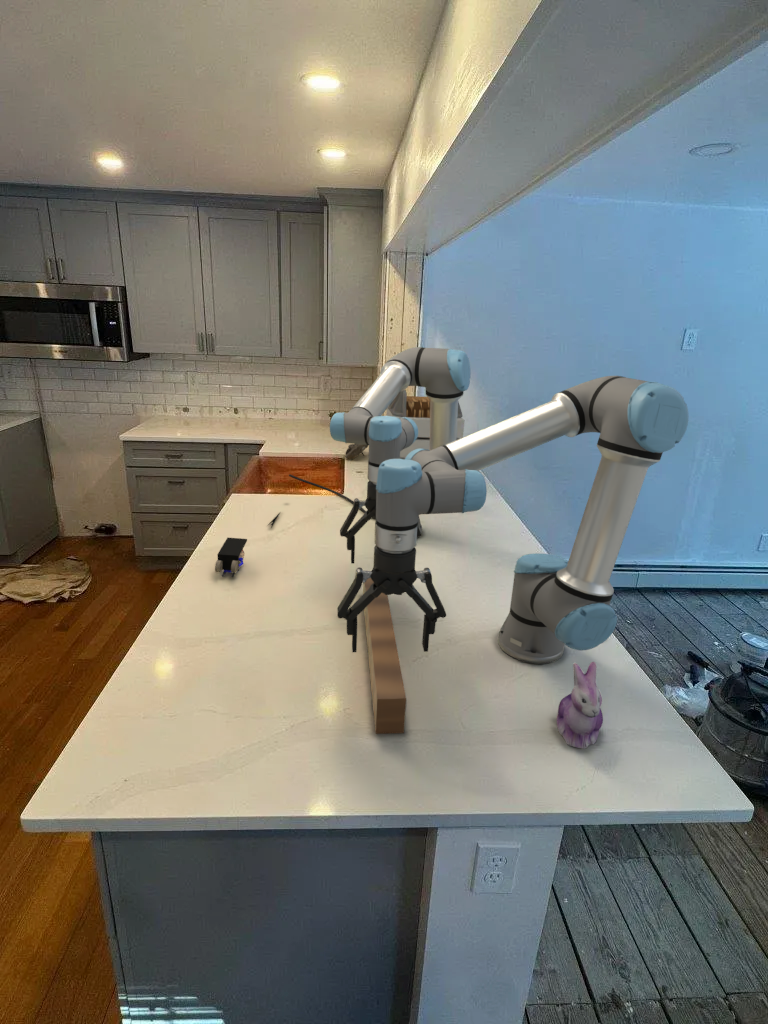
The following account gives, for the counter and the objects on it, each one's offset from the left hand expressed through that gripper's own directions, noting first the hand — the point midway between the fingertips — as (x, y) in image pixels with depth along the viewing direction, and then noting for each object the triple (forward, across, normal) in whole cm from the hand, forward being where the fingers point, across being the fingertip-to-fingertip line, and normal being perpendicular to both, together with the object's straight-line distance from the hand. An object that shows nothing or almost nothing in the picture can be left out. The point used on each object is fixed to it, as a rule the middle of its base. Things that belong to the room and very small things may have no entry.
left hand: (379, 561), depth 144 cm
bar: (+14, -1, -19) cm, 24 cm away
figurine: (+14, +35, -47) cm, 60 cm away
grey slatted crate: (+13, +31, +132) cm, 136 cm away
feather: (+14, -31, +70) cm, 78 cm away
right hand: (+1, -1, -38) cm, 38 cm away
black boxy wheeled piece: (+14, -41, +24) cm, 50 cm away
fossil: (+13, +2, +163) cm, 163 cm away
